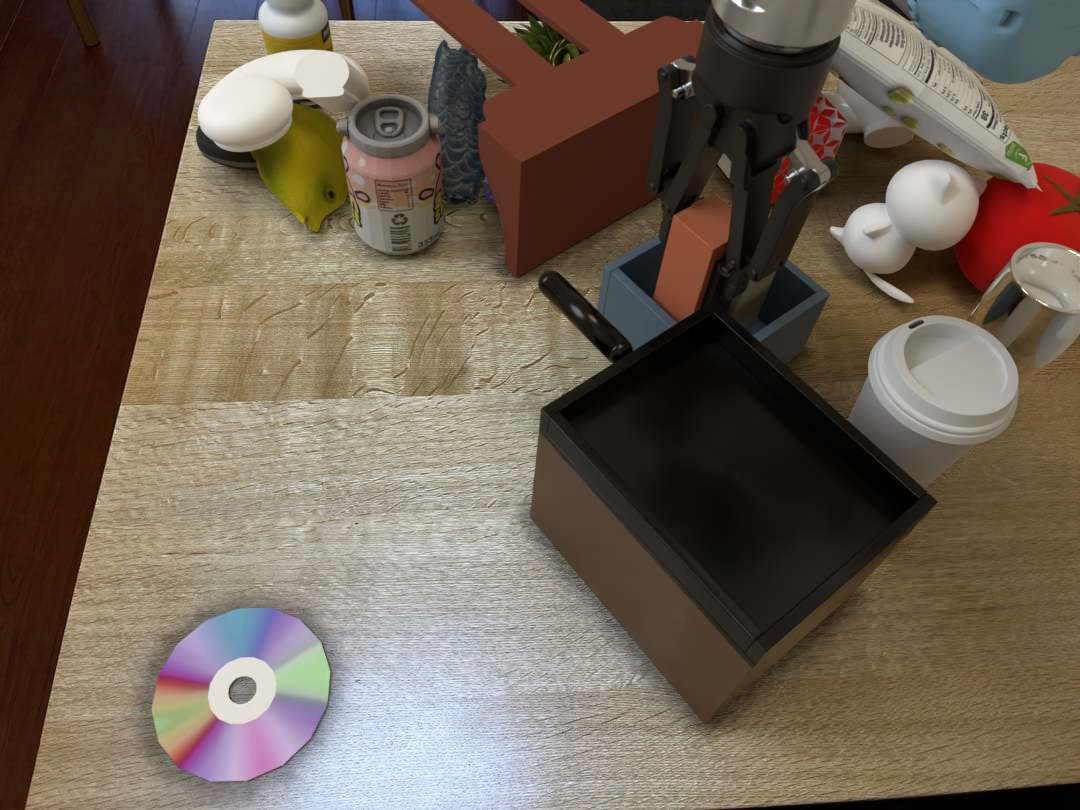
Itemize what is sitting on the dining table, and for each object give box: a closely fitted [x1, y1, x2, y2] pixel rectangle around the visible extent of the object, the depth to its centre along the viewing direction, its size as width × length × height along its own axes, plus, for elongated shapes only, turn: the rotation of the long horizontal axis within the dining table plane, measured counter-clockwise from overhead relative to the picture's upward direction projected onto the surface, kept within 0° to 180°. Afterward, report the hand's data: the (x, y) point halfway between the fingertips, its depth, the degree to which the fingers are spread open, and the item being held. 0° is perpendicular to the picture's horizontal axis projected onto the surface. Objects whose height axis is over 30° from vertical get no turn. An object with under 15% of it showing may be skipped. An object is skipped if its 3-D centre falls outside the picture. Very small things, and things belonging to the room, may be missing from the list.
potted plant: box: [495, 12, 584, 89], centre depth 84 cm, size 12×13×15 cm
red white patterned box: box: [717, 93, 849, 205], centre depth 83 cm, size 8×8×8 cm
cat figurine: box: [829, 159, 987, 304], centre depth 76 cm, size 9×11×12 cm
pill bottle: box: [257, 0, 334, 107], centre depth 85 cm, size 6×6×12 cm
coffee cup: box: [847, 314, 1019, 489], centre depth 62 cm, size 10×10×15 cm
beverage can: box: [336, 93, 446, 256], centre depth 75 cm, size 9×8×12 cm
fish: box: [250, 103, 349, 233], centre depth 81 cm, size 3×16×10 cm
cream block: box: [727, 271, 776, 330], centre depth 71 cm, size 4×4×10 cm
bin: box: [596, 234, 831, 365], centre depth 72 cm, size 13×13×8 cm
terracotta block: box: [653, 192, 732, 323], centre depth 65 cm, size 4×4×10 cm
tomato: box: [954, 162, 1080, 293], centre depth 76 cm, size 14×13×10 cm
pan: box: [529, 269, 939, 725], centre depth 59 cm, size 28×15×15 cm, turn 38°
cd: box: [151, 607, 332, 783], centre depth 57 cm, size 11×11×1 cm
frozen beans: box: [829, 0, 1042, 191], centre depth 75 cm, size 21×6×25 cm
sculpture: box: [197, 50, 371, 152], centre depth 73 cm, size 12×15×8 cm
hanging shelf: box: [408, 0, 704, 278], centre depth 82 cm, size 24×13×30 cm
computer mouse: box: [195, 99, 300, 172], centre depth 83 cm, size 7×12×4 cm, turn 159°
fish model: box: [427, 38, 488, 206], centre depth 85 cm, size 7×21×5 cm, turn 5°
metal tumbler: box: [966, 242, 1080, 387], centre depth 67 cm, size 7×7×15 cm
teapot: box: [821, 63, 969, 149], centre depth 88 cm, size 10×20×9 cm
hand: (691, 295), depth 67 cm, fingers closed on terracotta block, 4 cm apart
